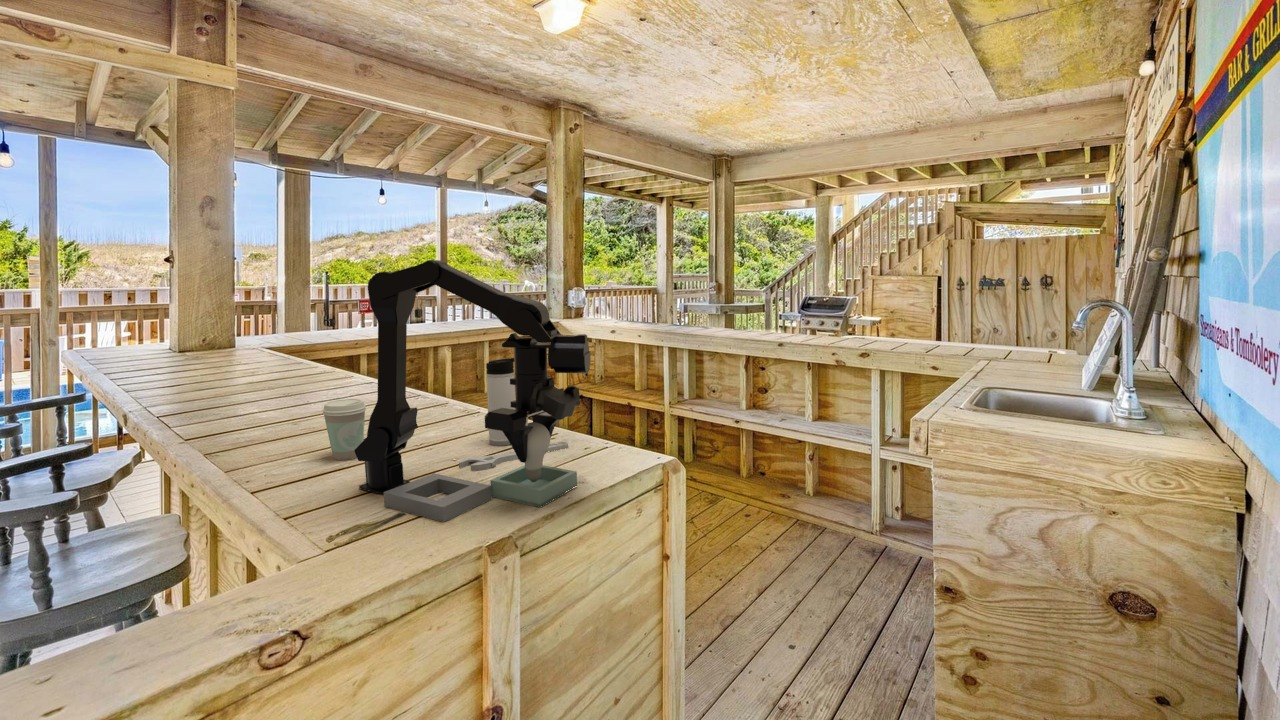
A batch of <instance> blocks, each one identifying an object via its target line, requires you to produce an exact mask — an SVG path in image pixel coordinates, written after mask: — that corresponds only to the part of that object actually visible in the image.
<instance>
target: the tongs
mask: <svg viewBox="0 0 1280 720" xmlns="http://www.w3.org/2000/svg"><path fill="white" fill-rule="evenodd" d="M404 516H406V513H405V512H403V511H401V512H398V513H396V514H394V515H392V516H389V517H386V518H383V519H378V520H373V521H367V522H360V523H357V524H354V525H352V526H349V527H347V528H344V529H342V530H340V531H339V532H337V533H335V534H330V535H329V536H328V537H326V538H325V541H326V542H328V544H329V543H330V542H332V541H333V542H334V540H336V539H337V538H340V537H344V536H347V535H349V534H351V533H354V532H357V533H354V534H352V535H350V536H349V537H348V539H347V540H346V541H343V542H341V541H340V542H334V543H333V546H338V547H342V546H345V545H347V544H348V543H349V544H350V543H351V542H354V541H355V540H357V539H359V538H361V537H363V536H365V535H367V534H369V533H371V532H373V531H374V530H377V529H378V528H381V527H382V526H384V525H386V524H388V523H390V522H393V521H395V520H397V519H398V518H402V517H404Z"/></svg>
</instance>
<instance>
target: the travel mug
mask: <svg viewBox="0 0 1280 720" xmlns="http://www.w3.org/2000/svg"><path fill="white" fill-rule="evenodd" d="M514 363H515V362H514V357H511V358H502V359H501V358H500V359H495V360H490V361H488V362H486V364H485V365H486V374H485V375H486V394H487V413H488V412H489V411H493V410H496V409H500V408H507V409H514V410H516V408H513V407H511V401H515V400H516V398H515V385H510V379H511V378H515V365H514ZM488 443H489V444H490V445H491V444H492V446H494V445H497V446H496V447H503V446H504V445H506V446H511V445H510V442H509V440H508V439H507V437H506V436H505V434H504V433H503V431H499V430H493V429H488ZM502 445H503V446H502ZM504 447H505V446H504Z"/></svg>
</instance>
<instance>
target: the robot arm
mask: <svg viewBox="0 0 1280 720" xmlns="http://www.w3.org/2000/svg"><path fill="white" fill-rule="evenodd" d="M434 286H437V287H439V288H440V289H443V290H445V291H447V292H449V293H451V294H453V295H455V296H457V297H459V298H461V299H464V300H465V301H467V302H469V303H472V304H473V305H476V306H478V307H479V308H482V309H483V310H486V311H487V312H490V313H491V314H492V315H494V316H495V317H496V318H497V319H498V320H499V321H500V322H501V323H502V324H503V325H504V326H506V327H508V329H510V330H511V331H513V333H510V335H509V336H508V338H507V339H506V340H505V341H504V342H502V343H501V347H502V348H507V349H508V348H511V349H512V348H513V352H514V353H513V355H514V356H513V358H514V362H513V363H514V378H511V379H510V385H515V401H511V407H513V408H515V410H514V409H507V408H500V409H496V410H493V411H489V412H488V411H487V413H486V414H485V415H484V429H487V430H489V429H493V430H499V431H503V433H504V434H505V436H506V437H507V439H508V440H509V442H510V444H511V445H510V446H511V448H512V450H513V451H515V453H516V455H517V457H518V459H517V460H518V461H519V462H520V463H524V464H525V462H526V459H527V442H528V434H529V432H530V431H531V430H532V429H533V426H528V423H529V422H528V419H529V418H531V419H532V422H537V423H540V424H542V425H544V426H545V427H546V428H547V430H548V431H549V433H550V440H552V439H551V438H552V435H553V433H554V432H553V431H554V430H555V427H556V425H557V423H559V422H560V421H561V420H564V419H565V418H567V417H572V416H574V415H573V414H574V411H575V409H576V407H578V406H580V405H581V401H580V399H581V398H580V397H581V396H580V389H579V388H578V387H577V386H575V385H570V386H566V387H565V388H563V387H562V388H557V387H555V380H554V378H553V377H551V376H549V374H548V367H549V368H550V370H553V371H554V372H555V373H556V374H585V375H586V374H589V372H590V368H591V359H592V358H591V357H592V356H591V355H592V354H591V351H590V345H589V341H588V335H587V334H585V333H584V334H580V333H579V334H576V335H575V334H574V335H573V334H572V335H570V334H568V335H565V334H564V335H563V334H562V333H561V332H560V331H559V329H558V328H557V327H556V326H555V324H554V323H553V322H552V320H551V318H550V311H549V310H548V307H547V306H546V305H545V304H544V303H543V302H541V301H540V300H539V301H538V300H535V299H531V298H529V297H525V296H520V295H515V294H511V293H507V292H504V291H503V290H500V289H498V288H496V287H493V286H492V285H490V284H487V283H486V282H484V281H482V280H480V279H478V278H476V277H473V276H472V275H469V274H468V273H465V272H463V271H461V270H459V269H457V268H455V267H453V266H450V265H449V264H448V263H447V262H445V261H444V260H441V259H440V260H437V259H436V260H435V259H430V260H429V259H428V260H426V261H424V262H422V263H419V264H416V265H413V266H410V267H407V268H403V269H399V270H397V271H379V272H377V273H375V274H374V275H372V277H371V278H369V280H368V283H367V293H368V299H369V300H368V301H369V306H370V309H371V311H372V313H373V315H374V317H375V319H376V322H377V400H376V403H375V405H374V407H373V410H372V412H371V413H370V414H371V415H370V417H369V421H368V427H367V432H366V437H365V438H364V440H363V442H362V443H361V444H360V445H359V446H358V447H357V448H356V449H355V450H354V452H355V454H356V456H357V458H356V459H357V461H358V462H364V472H365V483H363V484H360V485H359V486H358V489H360V490H362V491H368V492H371V493H376V494H379V495H384V492H386V491H388V490H391V489H394V488H396V487H399V486H401V485H404V484H407V483H409V482H411V481H410V480H408V479H404V465H403V464H404V463H403V462H402V454H401V453H400V451H402V450H404V449H406V448H407V443H408V441H409V440H410V439H411V438H412V437H413V436H414V434H415V431H416V429H419V426H418V423H417V416H418V407H411V406H410V405H409V403H408V400H407V397H406V389H407V388H406V387H407V329H408V328H407V327H408V325H407V324H408V320H409V319H410V316H411V314H412V311H413V309H414V308H415V307H414V306H415V302H416V297H417V294H418V293H421V292H423V291H426V290H428V289H431V288H432V287H434ZM519 335H520V336H519ZM521 336H523V337H521ZM527 336H529V337H527ZM546 452H547V451H546Z"/></svg>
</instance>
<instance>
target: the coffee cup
mask: <svg viewBox="0 0 1280 720" xmlns="http://www.w3.org/2000/svg"><path fill="white" fill-rule="evenodd" d="M364 403H365V401H364V400H363V399H359V398H345V399H337V400H331V401H327V402H325V403H324V406H323V409H322V412H321V413H322V415H323V416H324V420H325V425H326V430H327V436H328V441H329V444H330V448H331V449H330V451H331V454H332V459H334V460H335V459H337V461H348V460H354V459H357V456H356V454H355V452H354V450H355V449H356V448H357V447H358V446H359V445H360V444H361V443H362V442H363V441H364V440H365V438H364V435H365V433H364V432H365V419H366V417H365V415H366V411H367V408H366V407H367V406H366V404H364Z"/></svg>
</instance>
